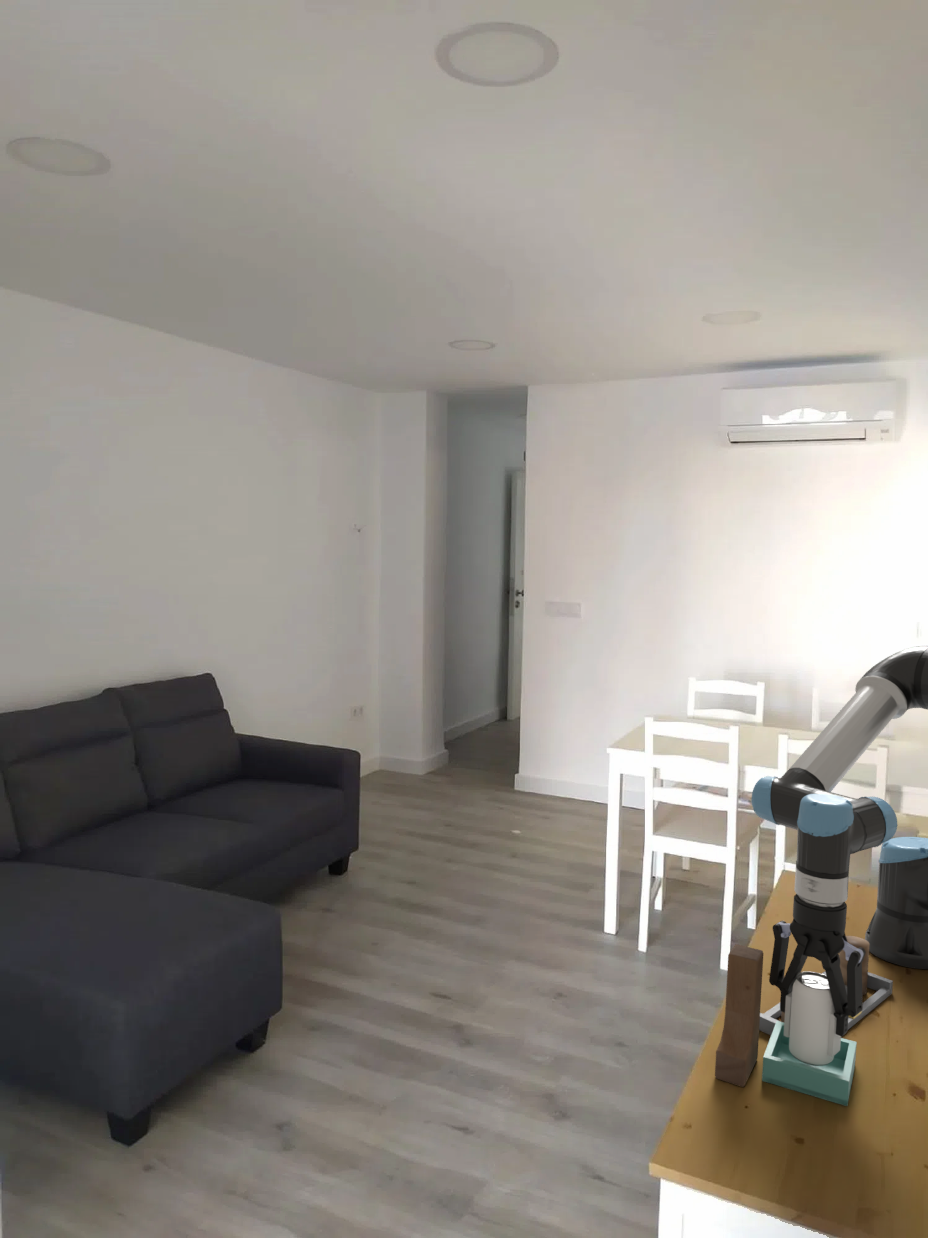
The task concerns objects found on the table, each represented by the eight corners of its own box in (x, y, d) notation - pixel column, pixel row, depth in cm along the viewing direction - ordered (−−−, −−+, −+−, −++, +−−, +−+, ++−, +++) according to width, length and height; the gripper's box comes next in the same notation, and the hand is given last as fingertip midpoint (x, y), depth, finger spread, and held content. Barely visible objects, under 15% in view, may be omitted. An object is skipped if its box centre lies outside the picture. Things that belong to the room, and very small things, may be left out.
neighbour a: (854, 982, 167) (857, 935, 167) (872, 994, 163) (875, 946, 162) (831, 984, 166) (834, 936, 166) (848, 996, 161) (851, 947, 161)
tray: (775, 1043, 146) (776, 1020, 146) (855, 1065, 140) (856, 1042, 140) (761, 1081, 135) (763, 1057, 135) (847, 1106, 130) (849, 1081, 129)
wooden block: (744, 1089, 133) (750, 973, 132) (714, 1079, 136) (720, 965, 134) (757, 1059, 141) (764, 950, 139) (729, 1051, 143) (735, 942, 142)
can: (837, 1070, 134) (842, 993, 133) (792, 1064, 135) (796, 987, 134) (828, 1047, 140) (833, 973, 139) (785, 1041, 141) (790, 968, 140)
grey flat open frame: (832, 971, 171) (833, 959, 171) (892, 993, 163) (893, 981, 163) (753, 1027, 150) (753, 1014, 150) (817, 1056, 142) (818, 1042, 142)
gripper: (749, 885, 140) (742, 1026, 142) (874, 925, 126) (864, 1081, 128) (773, 873, 145) (765, 1010, 147) (895, 911, 131) (885, 1061, 133)
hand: (811, 1042), depth 137 cm, fingers closed on can, 6 cm apart
